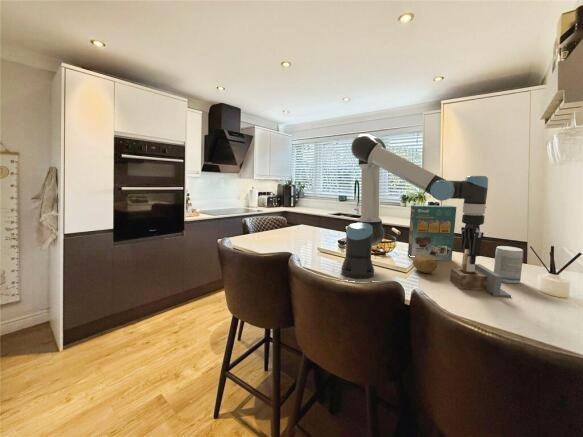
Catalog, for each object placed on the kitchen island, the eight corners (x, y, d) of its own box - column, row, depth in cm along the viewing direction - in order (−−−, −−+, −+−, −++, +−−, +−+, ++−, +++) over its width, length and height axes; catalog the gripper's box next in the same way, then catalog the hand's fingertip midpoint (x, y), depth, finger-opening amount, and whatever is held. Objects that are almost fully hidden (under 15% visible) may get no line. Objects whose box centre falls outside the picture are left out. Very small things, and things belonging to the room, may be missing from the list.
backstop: (493, 296, 105) (495, 276, 104) (472, 281, 120) (474, 263, 119) (510, 297, 104) (513, 277, 103) (487, 282, 120) (489, 264, 118)
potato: (425, 267, 140) (426, 252, 139) (441, 276, 126) (443, 259, 125) (406, 267, 140) (408, 252, 138) (421, 276, 126) (422, 260, 125)
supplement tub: (525, 283, 119) (530, 250, 116) (508, 285, 116) (512, 251, 114) (503, 275, 128) (507, 245, 126) (487, 277, 126) (490, 246, 124)
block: (459, 289, 112) (460, 274, 111) (449, 281, 120) (451, 268, 120) (485, 290, 110) (487, 276, 109) (474, 282, 119) (475, 269, 118)
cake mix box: (446, 257, 159) (451, 205, 155) (451, 260, 153) (456, 206, 149) (407, 256, 161) (411, 205, 157) (411, 258, 155) (414, 206, 151)
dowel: (464, 278, 113) (467, 250, 112) (460, 276, 117) (463, 248, 115) (473, 279, 113) (476, 251, 111) (469, 276, 116) (472, 249, 115)
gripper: (495, 217, 103) (488, 277, 106) (473, 212, 119) (467, 264, 122) (473, 216, 104) (467, 275, 107) (454, 211, 120) (449, 263, 123)
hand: (467, 269), depth 114 cm, fingers closed on dowel, 3 cm apart
